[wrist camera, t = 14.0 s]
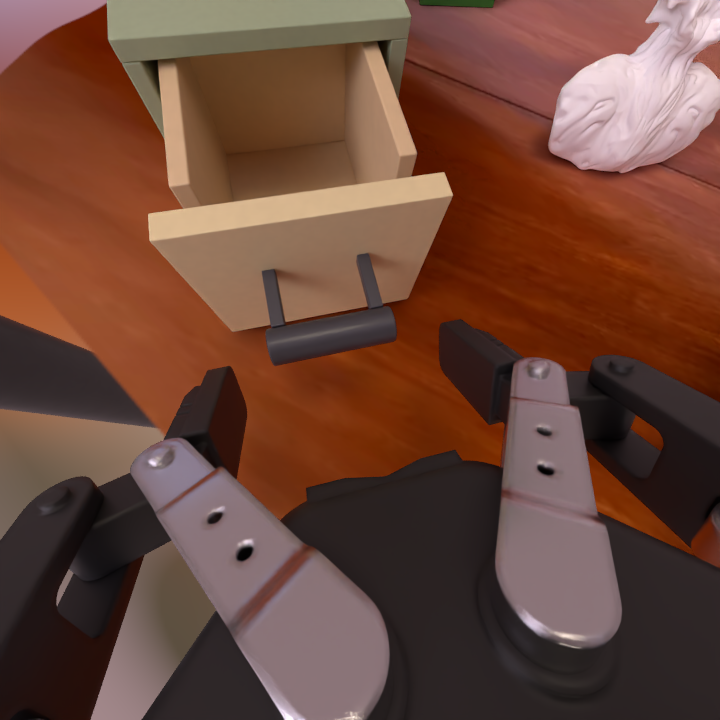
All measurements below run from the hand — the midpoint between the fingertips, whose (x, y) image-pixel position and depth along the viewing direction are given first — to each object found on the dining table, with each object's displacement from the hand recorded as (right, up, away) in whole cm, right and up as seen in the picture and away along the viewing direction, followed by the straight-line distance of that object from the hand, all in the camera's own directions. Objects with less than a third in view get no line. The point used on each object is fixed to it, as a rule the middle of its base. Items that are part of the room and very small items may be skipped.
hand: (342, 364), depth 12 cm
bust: (+21, +19, +15) cm, 32 cm away
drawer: (-3, +7, +9) cm, 12 cm away
